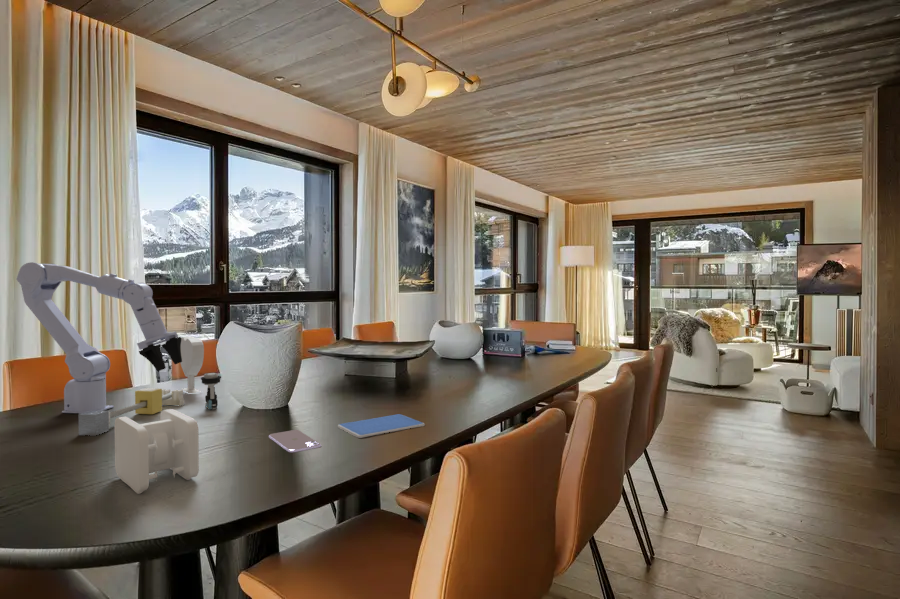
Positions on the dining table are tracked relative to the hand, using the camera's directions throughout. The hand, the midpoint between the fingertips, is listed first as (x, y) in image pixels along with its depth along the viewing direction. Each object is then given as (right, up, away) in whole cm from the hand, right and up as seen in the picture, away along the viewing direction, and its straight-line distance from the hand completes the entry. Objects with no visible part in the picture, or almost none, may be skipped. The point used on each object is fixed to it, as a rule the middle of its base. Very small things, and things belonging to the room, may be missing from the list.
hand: (170, 366), depth 147 cm
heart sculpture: (-6, -12, +24) cm, 27 cm away
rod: (-4, -10, -9) cm, 14 cm away
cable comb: (-2, -12, +4) cm, 13 cm away
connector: (-5, -13, -24) cm, 28 cm away
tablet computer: (+63, -14, -16) cm, 66 cm away
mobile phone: (+44, -14, -29) cm, 55 cm away
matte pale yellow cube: (-3, -12, -5) cm, 14 cm away
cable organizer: (+26, -14, -52) cm, 60 cm away
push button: (+11, -13, +1) cm, 17 cm away
